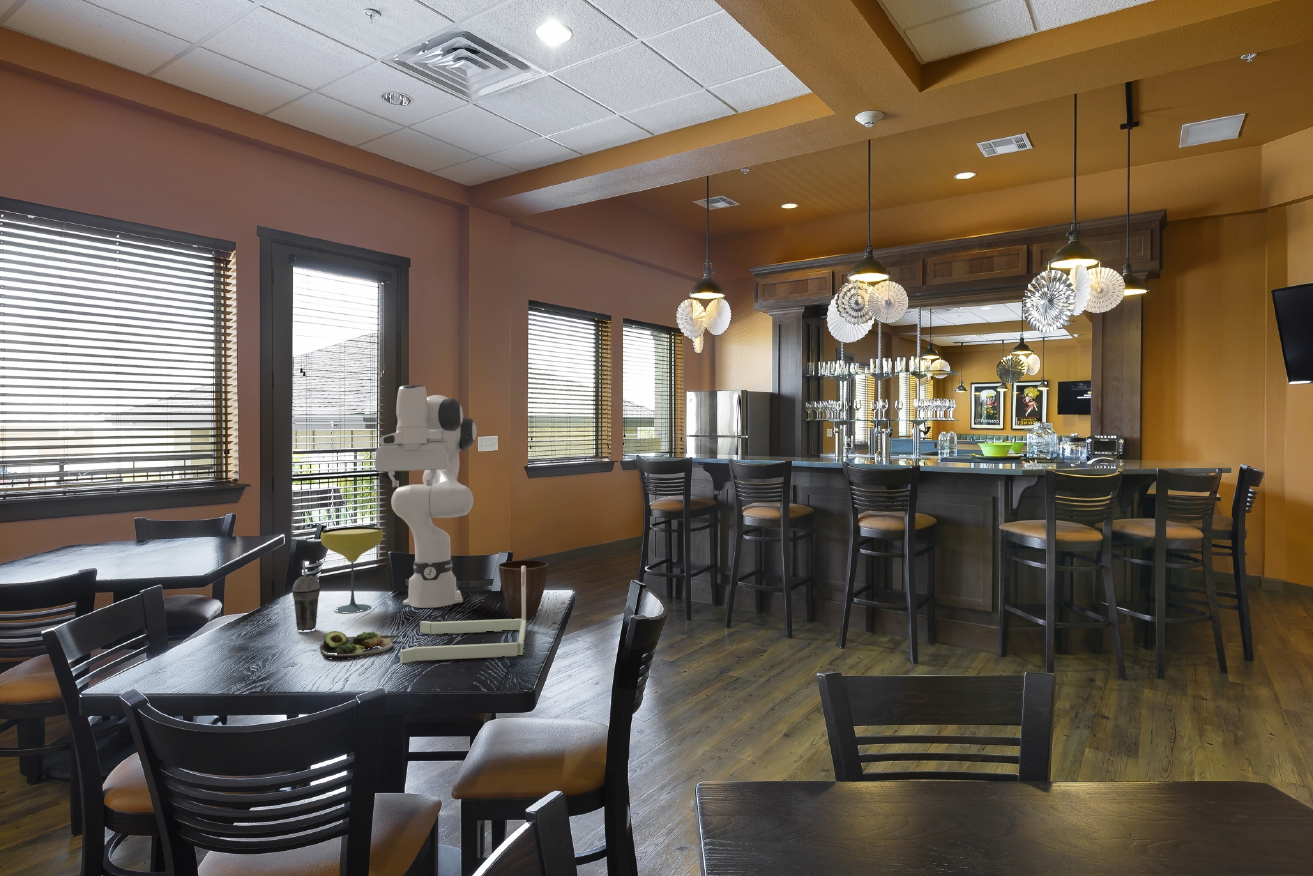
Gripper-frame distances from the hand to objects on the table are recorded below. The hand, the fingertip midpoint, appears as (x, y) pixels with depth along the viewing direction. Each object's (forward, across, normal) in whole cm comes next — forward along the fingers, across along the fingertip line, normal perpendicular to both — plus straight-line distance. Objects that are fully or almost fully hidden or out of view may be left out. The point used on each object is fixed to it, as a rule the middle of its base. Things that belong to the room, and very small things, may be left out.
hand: (412, 486), depth 204 cm
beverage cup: (+40, +29, -4) cm, 50 cm away
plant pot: (+40, -31, -8) cm, 51 cm away
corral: (+43, -17, +17) cm, 49 cm away
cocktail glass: (+37, +23, -28) cm, 52 cm away
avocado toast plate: (+43, +12, +16) cm, 47 cm away
